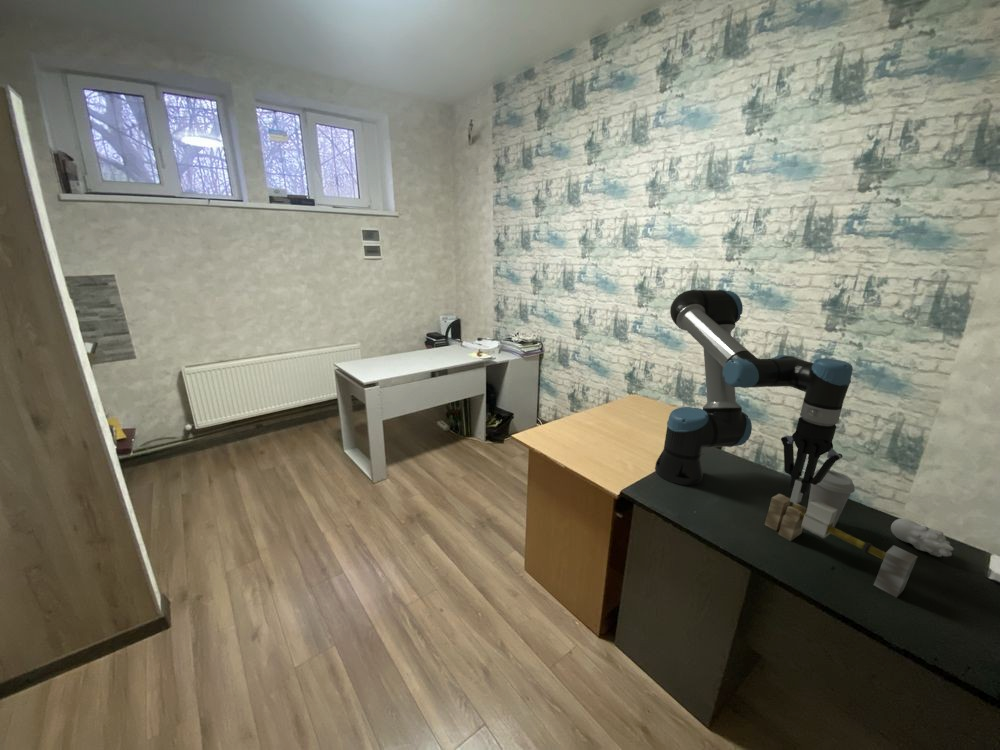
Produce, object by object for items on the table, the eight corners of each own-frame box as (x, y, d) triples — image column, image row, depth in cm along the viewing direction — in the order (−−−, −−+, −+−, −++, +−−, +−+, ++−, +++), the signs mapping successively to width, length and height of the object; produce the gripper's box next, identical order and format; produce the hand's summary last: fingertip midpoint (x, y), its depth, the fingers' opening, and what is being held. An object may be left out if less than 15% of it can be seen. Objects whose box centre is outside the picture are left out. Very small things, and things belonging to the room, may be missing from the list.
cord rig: (762, 525, 110) (770, 496, 107) (773, 519, 113) (781, 490, 110) (895, 599, 87) (909, 565, 84) (904, 588, 90) (918, 555, 87)
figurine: (902, 521, 109) (964, 547, 98) (889, 539, 108) (949, 568, 98) (896, 509, 106) (959, 535, 95) (882, 529, 106) (944, 557, 95)
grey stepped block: (800, 526, 102) (808, 502, 100) (808, 521, 104) (815, 498, 102) (823, 538, 98) (831, 513, 96) (830, 533, 100) (838, 508, 98)
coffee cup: (849, 535, 106) (865, 488, 102) (810, 530, 108) (824, 484, 104) (828, 514, 115) (842, 469, 111) (792, 509, 117) (805, 465, 113)
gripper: (781, 414, 101) (762, 492, 108) (843, 433, 90) (817, 519, 97) (795, 409, 104) (776, 485, 111) (856, 427, 94) (830, 510, 101)
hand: (795, 501), depth 104 cm, fingers closed
